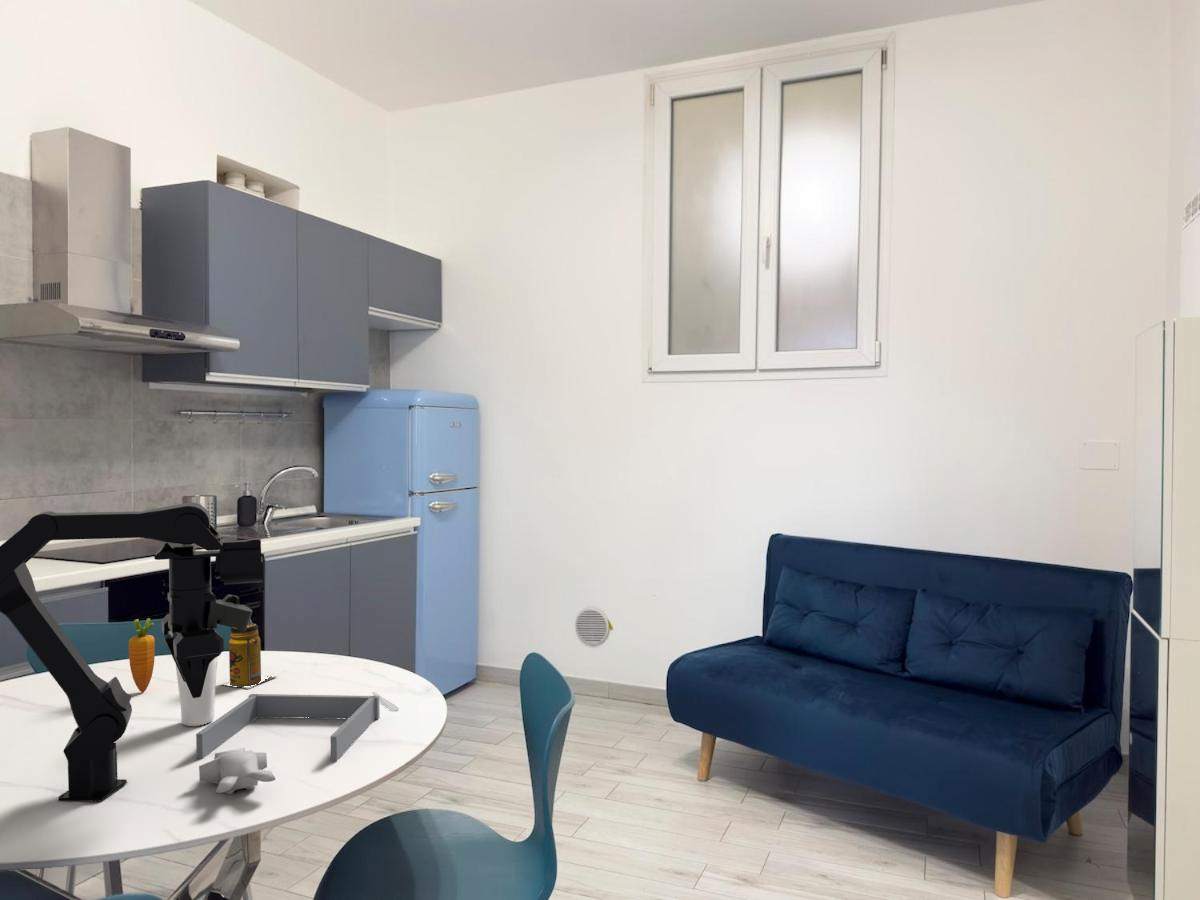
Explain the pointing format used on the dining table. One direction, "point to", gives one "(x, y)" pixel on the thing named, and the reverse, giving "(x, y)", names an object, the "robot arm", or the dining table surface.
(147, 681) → the carrot
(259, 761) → the white rounded figure
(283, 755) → the dining table surface
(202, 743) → the grey u-shaped fence
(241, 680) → the condiment
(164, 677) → the dining table surface
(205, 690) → the drinking glass
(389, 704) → the butter knife
